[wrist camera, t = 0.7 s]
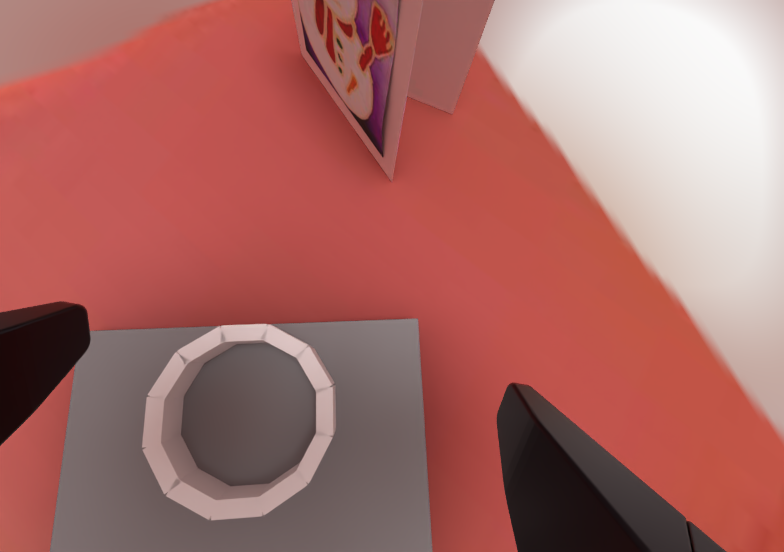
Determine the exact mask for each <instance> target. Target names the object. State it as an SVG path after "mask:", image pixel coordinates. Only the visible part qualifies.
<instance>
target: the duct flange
mask: <svg viewBox="0 0 784 552" xmlns="http://www.w3.org/2000/svg"><path fill="white" fill-rule="evenodd" d="M90 337H91V341H90V345H89V348H88V349H87V351H86V352H85V354H84V355H83V356H82V357H81V358H80V359H79V361H78V362H77V363H76V364H75V370H74V378H73V385H72V392H71V400H70V407H69V415H68V422H67V429H66V437H65V444H64V451H63V459H62V466H61V473H60V481H59V488H58V495H57V503H56V510H55V517H54V525H53V532H52V540H51V547H50V552H432V536H431V520H430V504H429V488H428V472H427V456H426V439H425V423H424V407H423V391H422V375H421V359H420V343H419V327H418V319H393V320H367V321H341V322H314V323H288V324H248V325H222V326H209V327H182V328H156V329H130V330H103V331H90Z"/></svg>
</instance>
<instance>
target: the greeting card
mask: <svg viewBox="0 0 784 552" xmlns="http://www.w3.org/2000/svg"><path fill="white" fill-rule="evenodd" d="M291 1H292V7H293V12H294V17H295V22H296V28H297V33H298V38H299V43H300V49H301V54H302V56H303V58H304V59H305V60H306V62H307V63H308V65H309V66H310V67H311V69H312V70H313V72H314V73H315V74H316V76H317V77H318V79H319V80H320V82H321V83H322V84H323V86H324V87H325V89H326V90H327V91H328V93H329V94H330V96H331V97H332V99H333V100H334V101H335V103H336V104H337V106H338V107H339V108H340V110H341V111H342V113H343V114H344V115H345V117H346V118H347V120H348V121H349V123H350V124H351V125H352V127H353V128H354V130H355V131H356V132H357V134H358V135H359V137H360V138H361V139H362V141H363V142H364V144H365V145H366V147H367V148H368V149H369V151H370V152H371V154H372V155H373V156H374V158H375V159H376V161H377V162H378V163H379V165H380V166H381V168H382V169H383V171H384V172H385V173H386V175H387V176H388V178H389V179H390V180H391V182H392V180H393V174H394V168H395V162H396V156H397V151H398V145H399V139H400V133H401V127H402V122H403V116H404V110H405V104H406V99H407V97H410V98H412V99H415V100H417V101H420V102H422V103H425V104H428V105H430V106H433V107H435V108H438V109H440V110H443V111H445V112H448V113H450V114H453V112H454V109H455V107H456V104H457V101H458V98H459V96H460V93H461V90H462V88H463V85H464V82H465V79H466V77H467V74H468V71H469V69H470V66H471V63H472V60H473V58H474V55H475V52H476V49H477V47H478V44H479V41H480V39H481V36H482V33H483V30H484V28H485V25H486V22H487V20H488V17H489V14H490V11H491V8H492V6H493V3H494V1H495V0H291Z"/></svg>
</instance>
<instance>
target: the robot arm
mask: <svg viewBox="0 0 784 552" xmlns="http://www.w3.org/2000/svg"><path fill="white" fill-rule="evenodd" d="M90 341H91V337H90V329H89V322H88V314H87V310H86V309H85V307H84V306H82V305H80V304H74V303H69V302H54V303H49V304H43V305H38V306H33V307H27V308H22V309H17V310H12V311H6V312H1V313H0V445H1V444H2V443H3V442H5V441H6V440H7V439H8V438H9V437H10V436H11V435H12V434H13V433H14V432H15V431H16V430H17V429H18V428H19V427H20V426H21V425H22V424H23V423H24V422H25V421H26V420H27V419H28V418H29V417H30V416H31V415H32V414H33V413H34V411H35V410H36V409H37V408H38V407H39V406H40V405H41V404H42V403H43V401H44V400H45V399H46V398H47V397H48V396H49V394H50V393H51V392H52V391H53V390H54V389H55V387H56V386H57V385H58V384H59V383H60V382H61V380H62V379H63V378H64V377H65V376H66V375H67V373H68V372H69V371H70V370H71V369H72V368H73V366H74V365H75V364H76V363H77V362H78V361H79V359H80V358H81V357H82V356H83V355H84V354H85V352H86V351H87V349H88V348H89V345H90ZM497 429H498V438H499V447H500V456H501V465H502V473H503V482H504V489H505V495H506V500H507V505H508V509H509V514H510V518H511V523H512V527H513V532H514V536H515V541H516V545H517V550H518V552H726V551H725V550H724V549H722V548H721V547H720V546H719V545H718V544H716V543H715V542H714V541H713V540H712V539H710V538H709V537H708V536H707V535H706V534H705V533H703V532H702V531H701V530H700V529H699V528H698V527H696V526H695V525H694V524H693V523H692V522H690V521H686V518H685V517H684V516H683V515H682V514H681V513H680V512H679V511H677V510H676V509H675V508H674V507H673V506H671V505H670V504H669V503H668V502H667V501H666V500H664V499H663V498H662V497H661V496H660V495H658V494H657V493H656V492H655V491H654V490H652V489H651V488H650V487H649V486H648V485H647V484H645V483H644V482H643V481H642V480H641V479H639V478H638V477H637V476H636V475H635V474H634V473H632V472H631V471H630V470H629V469H628V468H626V467H625V466H624V465H623V464H622V463H621V462H619V461H618V460H617V459H616V458H615V457H613V456H612V455H611V454H610V453H609V452H608V451H606V450H605V449H604V448H603V447H602V446H600V445H599V444H598V443H597V442H596V441H595V440H593V439H592V438H591V437H590V436H589V435H587V434H586V433H585V432H584V431H583V430H582V429H580V428H579V427H578V426H577V425H576V424H574V423H573V422H572V421H571V420H570V419H569V418H567V417H566V416H565V415H564V414H563V413H561V412H560V411H559V410H558V409H557V408H556V407H554V406H553V405H552V404H551V403H550V402H548V401H547V400H546V399H545V398H544V397H543V396H541V395H540V394H539V393H538V392H537V391H535V390H534V389H533V388H532V387H531V386H529V385H524V384H518V383H511V384H509V385H508V387H507V389H506V392H505V394H504V397H503V400H502V402H501V405H500V407H499V410H498V414H497Z"/></svg>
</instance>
